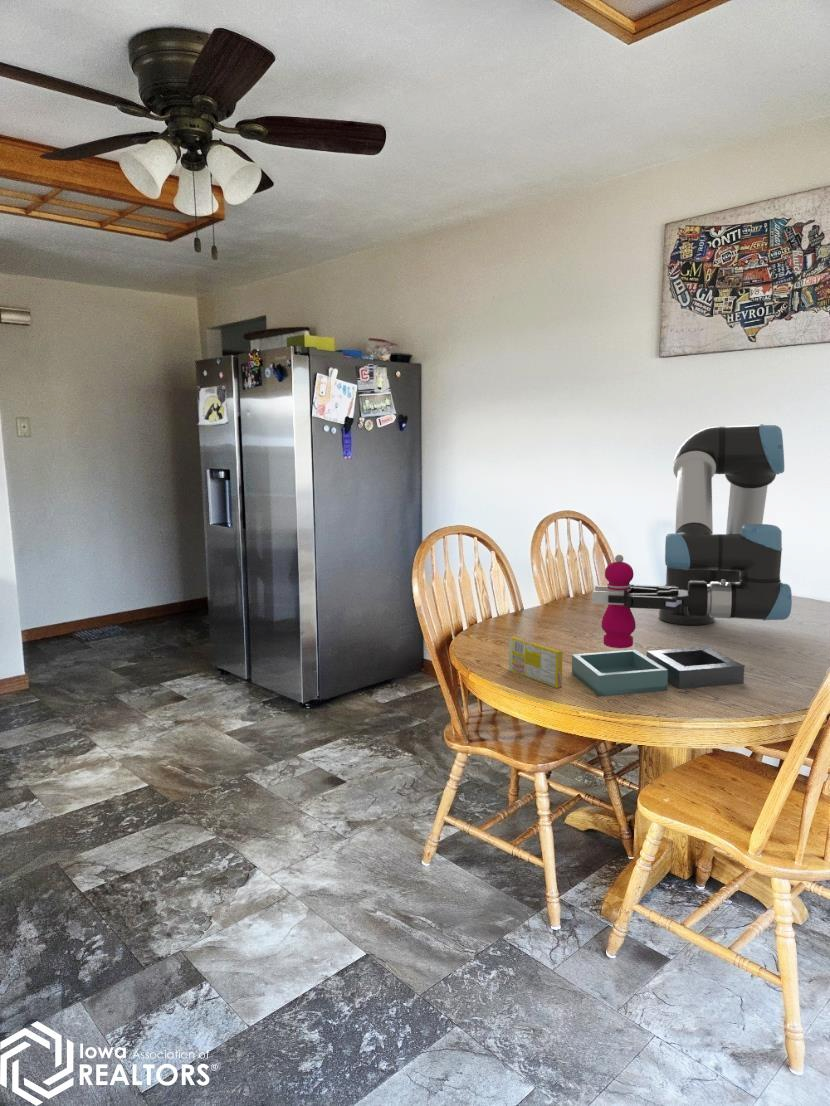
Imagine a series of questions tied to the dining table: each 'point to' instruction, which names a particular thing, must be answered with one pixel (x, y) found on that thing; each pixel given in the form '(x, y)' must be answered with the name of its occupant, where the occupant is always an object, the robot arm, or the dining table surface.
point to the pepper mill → (618, 607)
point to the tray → (619, 672)
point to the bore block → (698, 667)
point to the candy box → (535, 661)
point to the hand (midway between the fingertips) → (594, 594)
